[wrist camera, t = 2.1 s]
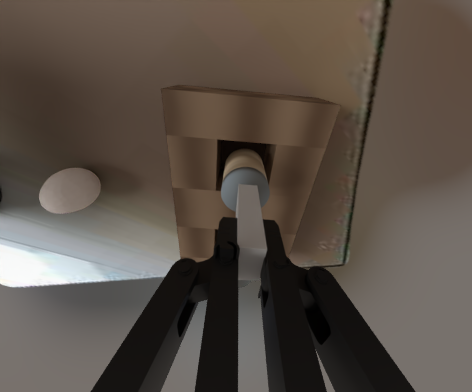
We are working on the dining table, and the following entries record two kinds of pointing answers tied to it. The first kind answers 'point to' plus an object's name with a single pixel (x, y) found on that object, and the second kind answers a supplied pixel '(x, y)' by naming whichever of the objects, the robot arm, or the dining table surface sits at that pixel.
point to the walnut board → (246, 130)
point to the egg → (69, 190)
